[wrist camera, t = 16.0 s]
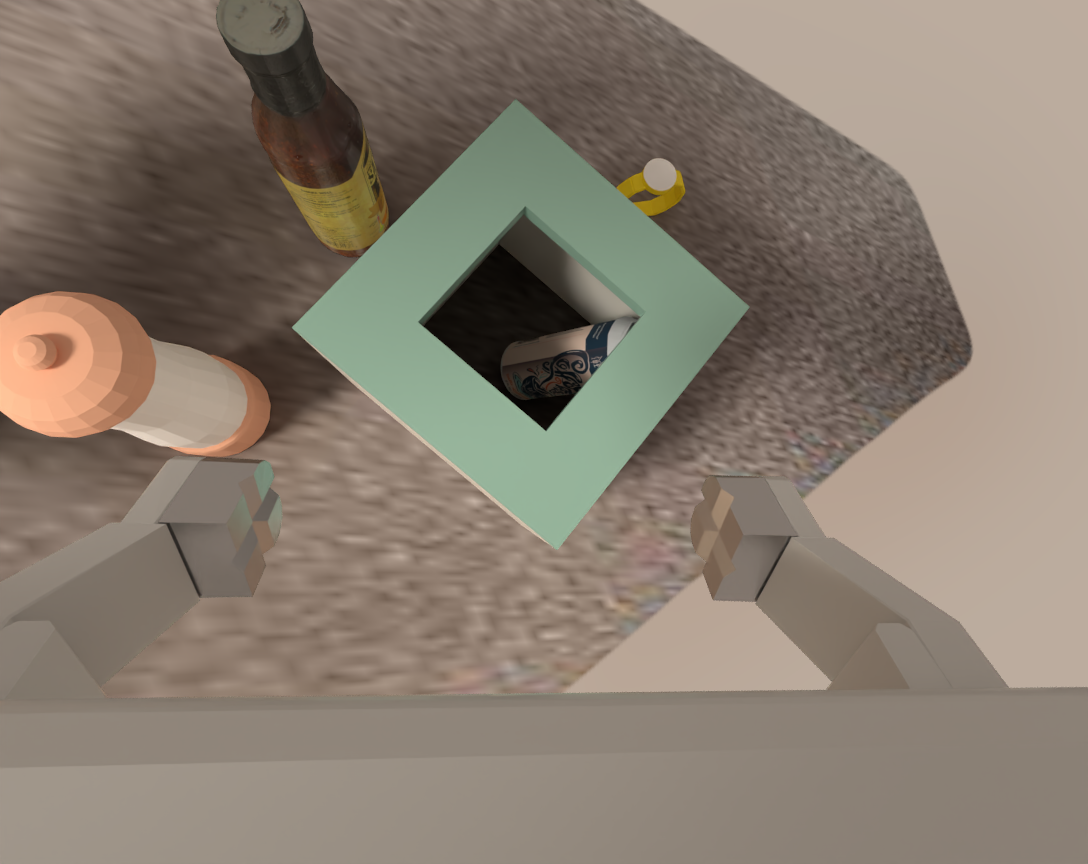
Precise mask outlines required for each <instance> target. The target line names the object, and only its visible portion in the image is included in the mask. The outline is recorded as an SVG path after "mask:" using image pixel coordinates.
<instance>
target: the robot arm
mask: <svg viewBox="0 0 1088 864" xmlns="http://www.w3.org/2000/svg"><path fill="white" fill-rule="evenodd" d="M273 479H274V474H273V471H272V468H271V465H270V463H269V462H267V461H265V460H253V459H235V458H217V457H206V458H204V457H189V456H175V457H173V458H171V459H169V460H168V461H167V462H166V463H165V465H164V466H163V467H162V469H161V470H160V471H159V472H158V474H157V475H156V476H155V478H154V479H153V480H152V482H151V483H150V484H149V486H148V487H147V488H146V490H145V491H144V492H143V494H142V495H141V496H140V498H139V499H138V500H137V501H136V503H135V504H134V505H133V507H132V508H131V509H130V511H129V512H128V513H127V515H126V516H125V517H124V519H123V520H122V521H121V523H109V524H107V525H105V526H103V527H102V528H100V529H98V530H96V531H94V532H92V533H90V534H89V535H87V536H85V537H83V538H81V539H79V540H77V541H76V542H74V543H72V544H70V545H68V546H66V547H64V548H63V549H61V550H59V551H57V552H55V553H53V554H52V555H50V556H48V557H46V558H44V559H42V560H40V561H39V562H37V563H35V564H33V565H31V566H29V567H27V568H26V569H24V570H22V571H20V572H18V573H16V574H14V575H13V576H11V577H9V578H7V579H5V580H3V581H1V582H0V864H1088V687H1044V688H1043V687H1041V688H1009V687H1008V686H1007V684H1006V683H1005V682H1004V680H1003V679H1002V678H1001V676H1000V675H999V674H998V673H997V671H996V670H995V669H994V667H993V666H992V665H991V663H990V662H989V661H988V660H987V658H986V657H985V655H984V654H983V653H982V651H981V650H980V649H979V647H978V646H977V645H976V643H975V642H974V641H973V639H972V638H971V637H970V636H969V634H968V633H967V632H966V630H965V629H964V628H963V626H962V625H961V624H960V622H958V621H957V620H956V619H954V618H952V617H951V616H950V615H948V614H947V613H945V612H944V611H942V610H940V609H939V608H938V607H936V606H935V605H933V604H932V603H930V602H929V601H927V600H926V599H924V598H923V597H921V596H920V595H918V594H917V593H915V592H914V591H912V590H911V589H909V588H908V587H906V586H905V585H903V584H902V583H900V582H899V581H897V580H896V579H895V578H893V577H892V576H890V575H889V574H887V573H885V572H884V571H883V570H881V569H880V568H878V567H877V566H875V565H873V564H872V563H871V562H869V561H868V560H866V559H865V558H863V557H862V556H860V555H859V554H857V553H856V552H854V551H853V550H851V549H850V548H848V547H847V546H845V545H844V544H842V543H841V542H839V541H838V540H836V539H835V538H826V536H825V535H824V533H823V531H822V530H821V528H820V527H819V525H818V524H817V522H816V520H815V519H814V517H813V516H812V514H811V512H810V511H809V509H808V508H807V506H806V505H805V503H804V501H803V500H802V498H801V497H800V495H799V494H798V492H797V490H796V489H795V487H794V486H793V484H792V482H791V481H790V480H789V479H787V478H786V477H785V476H759V477H756V476H722V475H709V477H708V478H707V479H706V480H705V482H704V484H703V487H702V489H701V491H702V493H703V496H704V498H705V500H703V501H702V502H701V503H699V504H698V505H697V506H695V509H694V512H693V515H692V518H691V532H690V533H691V539H692V544H693V547H694V550H695V553H696V554H697V555H698V556H700V557H701V558H702V559H703V560H704V561H705V562H706V564H705V567H704V569H703V575H704V577H705V580H706V583H707V585H708V588H709V591H710V593H711V596H712V599H713V600H719V601H720V600H721V601H748V602H756V605H757V606H758V607H759V608H760V609H761V610H762V611H763V612H764V613H765V614H766V615H767V616H768V617H769V618H770V619H771V620H772V621H773V622H774V623H775V624H776V625H777V626H778V627H779V628H780V629H781V630H782V631H783V632H784V633H785V634H786V635H787V636H788V637H789V639H791V641H793V643H794V644H795V645H796V646H798V648H799V649H801V651H802V652H803V653H804V654H805V655H806V656H807V657H808V658H809V659H810V660H811V661H812V662H813V663H814V664H815V665H816V666H817V667H818V668H819V669H820V670H821V671H822V672H823V673H824V674H825V675H826V676H827V677H828V678H829V679H830V680H831V681H832V682H831V684H830V685H829V686H828V687H827V689H826V690H778V691H777V690H776V691H775V690H774V691H693V692H692V691H691V692H620V693H619V692H616V693H615V692H614V693H613V692H610V693H531V694H438V695H347V696H259V697H171V698H108V697H107V695H106V694H105V693H104V691H103V690H102V689H101V686H102V685H104V684H105V683H106V682H107V681H108V680H109V679H110V678H112V677H113V676H114V675H115V674H116V673H117V672H119V671H120V670H121V669H122V668H123V667H124V666H125V665H127V664H128V663H129V662H130V661H131V660H132V659H133V658H135V657H136V656H137V655H138V654H139V653H140V652H142V651H143V650H144V649H145V648H146V647H147V646H148V645H150V644H151V643H152V642H153V641H154V640H155V639H157V638H158V637H159V636H160V635H161V634H162V633H163V632H165V631H166V630H167V629H168V628H169V627H170V626H171V625H173V624H174V623H175V622H176V621H177V620H178V619H180V618H181V617H182V616H183V615H184V614H185V613H186V612H188V611H189V610H190V609H191V608H192V607H193V606H194V605H196V604H197V603H198V602H199V601H200V598H212V597H253V595H254V592H255V590H256V588H257V585H258V583H259V581H260V579H261V576H262V574H263V572H264V569H265V567H266V564H265V561H264V557H263V554H264V553H265V552H267V551H268V550H270V549H271V548H272V547H274V546H275V543H276V541H277V538H278V536H279V533H280V528H281V522H282V505H281V501H280V497H279V495H278V494H277V493H276V492H274V491H273V490H272V489H271V488H270V485H271V483H272V481H273Z"/></svg>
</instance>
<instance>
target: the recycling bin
mask: <svg viewBox="0 0 1088 864" xmlns="http://www.w3.org/2000/svg"><path fill="white" fill-rule="evenodd" d="M499 244H500V245H501V246H502V247H503V248H504V249H505V250H506V251H508V252H509V253H510V254H511V255H512V256H513V257H515V258H516V259H517V260H518V261H519V262H520V263H521V264H523V265H524V266H525V267H526V268H527V269H528V270H529V271H531V272H532V273H533V274H534V275H535V276H536V277H538V278H539V279H540V280H541V281H542V282H543V283H544V284H546V285H547V286H548V287H549V288H550V289H551V290H552V291H554V292H555V293H556V294H557V295H558V296H559V297H561V298H562V299H563V300H564V301H565V302H566V303H567V304H569V305H570V306H571V307H572V308H573V309H574V310H575V311H577V312H578V313H579V314H580V315H581V316H582V317H584V318H585V319H586V320H587V321H588V322H589V323H590V324H592V325H594V324H599V323H603V322H607V321H612V320H616V319H618V318H620V317H624V316H627V317H632V318H634V319H637V320H638V321H637V322H636V323H635V324H634V325H633V327H632V328H631V329H630V330H629V331H628V333H627V334H626V335H625V336H624V337H623V339H622V340H621V341H620V342H619V343H618V345H617V346H616V347H615V348H614V349H613V350H612V352H611V353H610V354H609V355H608V356H607V358H606V359H605V360H604V361H603V362H602V364H601V365H600V366H599V367H598V368H597V370H596V371H595V372H594V373H593V374H592V376H591V377H590V378H589V379H588V380H587V382H586V383H585V384H584V385H583V386H582V388H581V389H580V390H579V391H578V392H577V394H576V395H575V396H574V397H573V398H572V400H571V401H570V402H569V403H568V404H567V406H566V407H565V408H564V409H563V410H562V411H561V413H560V414H559V415H558V416H557V417H556V419H555V420H554V421H553V422H552V423H551V425H550V426H549V427H548V428H547V429H546V431H545V430H544V429H543V428H542V427H541V426H539V425H538V424H537V423H536V422H535V421H533V420H532V419H531V418H530V417H529V416H528V415H526V414H525V413H524V412H523V411H522V410H521V409H519V408H518V407H517V406H516V405H515V404H514V403H512V402H511V401H510V400H509V399H508V398H506V397H505V396H504V395H503V394H502V393H501V392H499V391H498V390H497V389H496V388H495V387H494V386H492V385H491V384H490V383H489V382H488V381H486V380H485V379H484V378H483V377H482V376H481V375H479V374H478V373H477V372H476V371H475V370H474V369H472V368H471V367H470V366H469V365H468V364H467V363H465V362H464V361H463V360H462V359H461V358H459V357H458V356H457V355H456V354H455V353H454V352H452V351H451V350H450V349H449V348H448V347H447V346H445V345H444V344H443V343H442V342H441V341H440V340H438V339H437V338H436V337H435V336H434V335H432V334H431V333H430V332H429V331H428V330H427V329H425V328H424V327H423V326H424V325H425V324H426V323H427V322H428V321H429V320H430V319H431V317H432V316H433V315H434V314H435V313H436V312H437V311H438V310H439V309H440V308H441V307H442V306H443V304H444V303H445V302H446V301H447V300H448V299H449V298H450V297H451V296H452V295H453V294H454V293H455V291H456V290H457V289H458V288H459V287H460V286H461V285H462V284H463V283H464V282H465V281H466V280H467V279H468V277H469V276H470V275H471V274H472V273H473V272H474V271H475V270H476V269H477V268H478V267H479V266H480V264H481V263H482V262H483V261H484V260H485V259H486V258H487V257H488V256H489V255H490V254H491V253H492V251H493V250H494V249H495V248H496V247H497V246H498V245H499ZM748 309H749V306H748V305H747V304H746V303H745V302H744V301H742V300H741V299H740V298H739V297H738V296H737V295H736V294H735V293H733V292H732V291H731V290H730V289H729V288H728V287H727V286H726V285H724V284H723V283H722V282H721V281H720V280H719V279H718V278H717V277H715V276H714V275H713V274H712V273H711V272H710V271H709V270H708V269H706V268H705V267H704V266H703V265H702V264H701V263H700V262H699V261H697V260H696V259H695V258H694V257H693V256H692V255H691V254H690V253H688V252H687V251H686V250H685V249H684V248H683V247H682V246H681V245H679V244H678V243H677V242H676V241H675V240H674V239H673V238H672V237H670V236H669V235H668V234H667V233H666V232H665V231H664V230H663V229H661V228H660V227H659V226H658V225H657V224H656V223H655V222H654V221H652V220H651V219H650V218H649V217H648V216H647V215H646V214H645V213H643V212H642V211H641V210H640V209H639V208H638V207H637V206H636V205H634V204H633V203H632V202H631V201H630V200H629V199H628V198H627V197H625V196H624V195H623V194H622V193H621V192H620V191H619V190H618V189H616V188H615V187H614V186H613V185H612V184H611V183H610V182H609V181H608V180H606V179H605V178H604V177H603V176H602V175H601V174H600V173H599V172H597V171H596V170H595V169H594V168H593V167H592V166H591V165H590V164H588V163H587V162H586V161H585V160H584V159H583V158H582V157H581V156H579V155H578V154H577V153H576V152H575V151H574V150H573V149H572V148H570V147H569V146H568V145H567V144H566V143H565V142H564V141H563V140H561V139H560V138H559V137H558V136H557V135H556V134H555V133H554V132H552V131H551V130H550V129H549V128H548V127H547V126H546V125H545V124H543V123H542V122H541V121H540V120H539V119H538V118H537V117H536V116H534V115H533V114H532V113H531V112H530V111H529V110H528V109H527V108H525V107H524V106H523V105H522V104H521V103H520V102H519V101H518V100H516V99H515V100H514V101H513V102H512V103H511V104H510V105H509V106H508V107H507V108H506V109H505V110H504V111H503V112H502V113H501V114H500V116H499V117H498V118H497V119H496V120H495V121H494V122H493V123H492V124H491V125H490V126H489V127H488V128H487V129H486V130H485V131H484V132H483V133H482V134H481V135H480V136H479V137H478V138H477V139H476V140H475V141H474V142H473V143H472V144H471V145H470V146H469V147H468V148H467V149H466V150H465V151H464V152H463V153H462V154H461V155H460V156H459V157H458V158H457V159H456V160H455V161H454V162H453V164H452V165H451V166H450V167H449V168H448V169H447V170H446V171H445V172H444V173H443V174H442V175H441V176H440V177H439V178H438V179H437V180H436V181H435V182H434V183H433V184H432V185H431V186H430V187H429V188H428V189H427V190H426V191H425V192H424V193H423V194H422V195H421V196H420V197H419V198H418V199H417V200H416V201H415V202H414V203H413V204H412V205H411V206H410V207H409V208H408V209H407V210H406V212H405V213H404V214H403V215H402V216H401V217H400V218H399V219H398V220H397V221H396V222H395V223H394V224H393V225H392V226H391V227H390V228H389V229H388V230H387V231H386V232H385V233H384V234H383V235H382V236H381V237H380V238H379V239H378V240H377V241H376V242H375V243H374V244H373V245H372V246H371V247H370V248H369V249H368V250H367V251H366V252H365V253H364V254H363V255H362V256H361V257H360V259H359V260H358V261H357V262H356V263H355V264H354V265H353V266H352V267H351V268H350V269H349V270H348V271H347V272H346V273H345V274H344V275H343V276H342V277H341V278H340V279H339V280H338V281H337V282H336V283H335V284H334V285H333V286H332V287H331V288H330V289H329V290H328V291H327V292H326V293H325V294H324V295H323V296H322V297H321V298H320V299H319V300H318V301H317V302H316V303H315V304H314V305H313V307H312V308H311V309H310V310H309V311H308V312H307V313H306V314H305V315H304V316H303V317H302V318H301V319H300V320H299V321H298V322H297V323H296V324H295V325H294V326H293V327H292V328H293V329H294V330H295V331H296V332H297V333H298V334H299V335H300V336H301V337H302V338H303V339H305V340H306V341H307V342H308V343H309V344H310V345H311V346H312V347H313V348H314V349H315V350H317V351H318V352H319V353H320V354H321V355H322V356H323V357H324V358H325V359H326V360H327V361H329V362H330V363H331V364H332V365H333V366H334V367H335V368H336V369H337V370H338V371H339V372H340V373H342V374H343V375H344V376H345V377H346V378H347V379H348V380H349V381H350V382H351V383H352V384H354V385H355V386H356V387H357V388H358V389H360V390H361V391H362V392H363V393H364V394H366V395H367V396H368V397H369V398H370V399H372V400H373V401H374V402H375V403H376V404H378V405H379V406H380V407H381V408H382V409H383V410H385V411H386V412H387V413H388V414H389V415H391V416H392V417H393V418H394V419H395V420H397V421H398V422H399V423H400V424H401V425H403V426H404V427H405V428H406V429H407V430H409V431H410V432H411V433H412V434H413V435H415V436H416V437H417V438H418V439H419V440H421V441H422V442H423V443H424V444H425V445H426V446H428V447H429V448H430V449H431V450H432V451H434V452H435V453H436V454H437V455H438V456H440V457H441V458H442V459H443V460H444V461H446V462H447V463H448V464H449V465H450V466H452V467H453V468H454V469H455V470H456V471H458V472H459V473H460V474H461V475H462V476H464V477H465V478H466V479H467V480H468V481H469V482H471V483H472V484H473V485H474V486H475V487H477V488H478V489H479V490H480V491H481V492H483V493H484V494H485V495H486V496H487V497H489V498H490V499H491V500H492V501H493V502H495V503H496V504H497V505H498V506H499V507H501V508H502V509H503V510H504V511H505V512H507V513H508V514H509V515H510V516H511V517H512V518H514V519H515V520H516V521H517V522H518V523H520V524H521V525H522V526H523V527H525V528H526V529H527V530H529V531H530V532H532V533H533V534H535V535H536V536H538V537H539V538H540V539H542V540H543V541H545V542H546V543H548V544H549V545H551V546H552V547H553V548H555V549H556V550H557V549H558V548H559V547H560V546H561V544H562V543H563V542H564V541H565V539H566V538H567V537H568V536H569V534H570V533H571V532H572V531H573V529H574V528H575V527H576V526H577V524H578V523H579V522H580V520H581V519H582V518H583V517H584V515H585V514H586V513H587V512H588V510H589V509H590V508H591V507H592V505H593V504H594V503H595V502H596V500H597V499H598V498H599V497H600V495H601V494H602V493H603V491H604V490H605V489H606V488H607V486H608V485H609V484H610V483H611V481H612V480H613V479H614V478H615V476H616V475H617V474H618V473H619V471H620V470H621V469H622V468H623V466H624V465H625V464H626V462H627V461H628V460H629V459H630V457H631V456H632V455H633V454H634V452H635V451H636V450H637V449H638V447H639V446H640V445H641V444H642V442H643V441H644V440H645V439H646V437H647V436H648V435H649V433H650V432H651V431H652V430H653V428H654V427H655V426H656V425H657V423H658V422H659V421H660V420H661V418H662V417H663V416H664V415H665V413H666V412H667V411H668V410H669V408H670V407H671V406H672V404H673V403H674V402H675V401H676V399H677V398H678V397H679V396H680V394H681V393H682V392H683V391H684V389H685V388H686V387H687V386H688V384H689V383H690V382H691V381H692V379H693V378H694V377H695V375H696V374H697V373H698V372H699V370H700V369H701V368H702V367H703V365H704V364H705V363H706V362H707V360H708V359H709V358H710V357H711V355H712V354H713V353H714V352H715V350H716V349H717V348H718V346H719V345H720V344H721V343H722V341H723V340H724V339H725V338H726V336H727V335H728V334H729V333H730V331H731V330H732V329H733V328H734V326H735V325H736V324H737V323H738V321H739V320H740V319H741V317H742V316H743V315H744V314H745V312H746V311H747V310H748Z"/></svg>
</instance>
